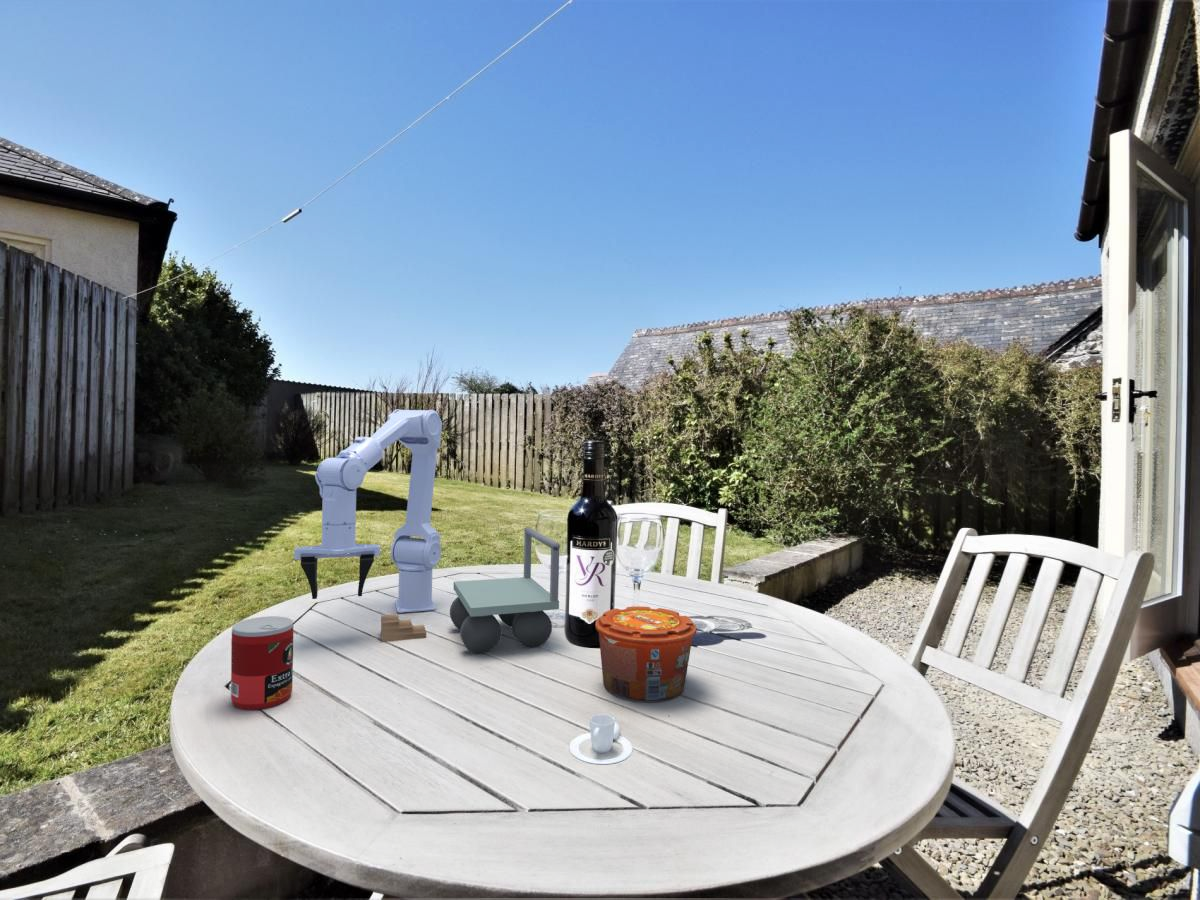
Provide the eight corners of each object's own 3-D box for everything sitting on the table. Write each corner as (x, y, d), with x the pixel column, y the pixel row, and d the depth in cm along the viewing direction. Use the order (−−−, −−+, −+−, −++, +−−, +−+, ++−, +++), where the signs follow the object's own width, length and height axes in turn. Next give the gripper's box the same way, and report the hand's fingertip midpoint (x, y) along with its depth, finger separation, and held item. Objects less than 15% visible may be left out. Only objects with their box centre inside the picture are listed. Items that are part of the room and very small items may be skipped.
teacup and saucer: (600, 727, 84) (601, 698, 84) (648, 747, 79) (649, 716, 79) (556, 752, 77) (557, 719, 77) (605, 775, 72) (606, 741, 72)
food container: (709, 680, 100) (711, 615, 100) (669, 718, 86) (671, 642, 86) (623, 660, 108) (625, 599, 108) (574, 691, 95) (575, 622, 94)
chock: (380, 635, 119) (381, 615, 119) (423, 631, 122) (423, 611, 122) (381, 643, 115) (382, 622, 114) (426, 639, 117) (426, 619, 117)
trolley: (447, 626, 125) (449, 529, 124) (529, 618, 131) (531, 526, 131) (464, 660, 106) (466, 546, 106) (557, 650, 113) (560, 542, 112)
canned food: (274, 711, 85) (276, 632, 85) (218, 709, 85) (219, 631, 85) (302, 689, 93) (303, 616, 93) (250, 687, 93) (251, 615, 93)
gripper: (292, 527, 107) (291, 604, 107) (381, 525, 112) (379, 599, 112) (297, 521, 114) (296, 594, 114) (380, 519, 119) (379, 589, 119)
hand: (337, 596), depth 114 cm, fingers open, 7 cm apart
